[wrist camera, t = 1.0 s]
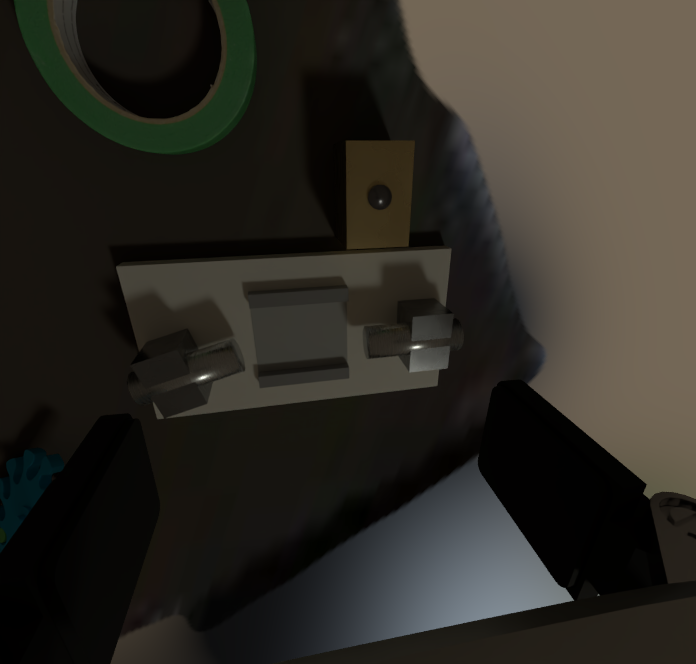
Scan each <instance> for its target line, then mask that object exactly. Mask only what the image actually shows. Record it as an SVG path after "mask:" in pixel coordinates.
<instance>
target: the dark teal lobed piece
mask: <svg viewBox="0 0 696 664" xmlns="http://www.w3.org/2000/svg"><path fill="white" fill-rule="evenodd" d="M40 465H41V466H40ZM39 467H40V469H39ZM6 468H7V471H8V473H9V476H8V477H3V478H0V499H1V501H2V503H3V505H2V506H0V527H1V528H0V553H1V552H2V550H3V549H4V547H5V546H6V544H7V543H8V542H9V540H10V539H11V537H12V536H13V535H14V533H15V532H16V530H17V529H18V528H19V526H20V525H21V523H22V522H23V521H24V519H25V518H26V516H27V515H28V513H29V512H30V511H31V509H32V508H33V506H34V505H35V504H36V502H37V501H38V499H39V498H40V497H41V495H42V494H43V492H44V491H45V490H46V488H47V487H48V486H49V484H50V483H51V482H52V480H51V478H52V474H53V473H57V472H61V471H62V470H63V468H64V462H63V460H62V458H61V457H60V455H59V454H54V455H49V456H46V451H45V450H44V449H42V448H33V449H27V450H25V451H24V455H23V457H18V458H13V459H10V460H8V461H7V463H6Z"/></svg>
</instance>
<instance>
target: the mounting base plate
mask: <svg viewBox="0 0 696 664" xmlns="http://www.w3.org/2000/svg"><path fill="white" fill-rule="evenodd" d="M450 258H451V248H449V247H447V246H426V247H407V248H388V249H368V250H349V251H330V252H310V253H291V254H272V255H252V256H233V257H214V258H194V259H175V260H156V261H136V262H122V263H121V264H119V265H118V266H116V269H117V272H118V276H119V280H120V283H121V287H122V291H123V294H124V298H125V302H126V305H127V309H128V313H129V316H130V320H131V324H132V327H133V331H134V335H135V338H136V342H137V346H138V349H139V352H140V350H141V349H142V348H143V346H144V345H145V343H146V342H148V341H151V340H154V339H157V338H160V337H163V336H166V335H169V334H172V333H175V332H178V331H181V330H184V329H187V328H188V330H189V332H190V334H191V335H192V337H193V339H194V341H195V343H196V345H197V347H198V349H202V348H205V347H208V346H211V345H214V344H217V343H220V342H223V341H226V340H229V339H232V338H233V339H235V340H236V342H237V343H238V345H239V347H240V349H241V352H242V355H243V358H244V362H245V371H244V372H241V373H238V374H235V375H232V376H229V377H226V378H223V379H220V380H217V381H214V382H213V384H212V388H211V392H210V396H209V399H208V403H207V404H205V405H203V406H200V407H197V408H194V409H191V410H188V411H185V412H182V413H179V414H176V415H173V416H170V417H168V418H171V417H180V416H188V415H196V414H205V413H213V412H222V411H230V410H238V409H247V408H255V407H264V406H272V405H280V404H289V403H297V402H306V401H314V400H322V399H331V398H339V397H348V396H356V395H364V394H373V393H381V392H390V391H398V390H406V389H415V388H423V387H432V386H437V383H438V374H439V369H437V370H428V371H419V372H410V373H409V371H408V370H407V368H406V367H405V365H404V364H403V362H402V361H401V359H400V358H399V356H394V357H385V358H375V359H367V358H366V356H365V353H364V348H363V328H364V326H373V325H385V324H396V323H397V305H398V301H402V300H415V299H428V298H435V299H436V300H438V301H439V302H440V303H441V304H442V305H444V306H446V296H447V287H448V277H449V267H450ZM153 405H154V408H155V412H156V416H157V419H163V418H164V417H163V416H162V414H161V413H160V411H159V409H158V408H157V406H156V405H155V403H154V402H153Z"/></svg>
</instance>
